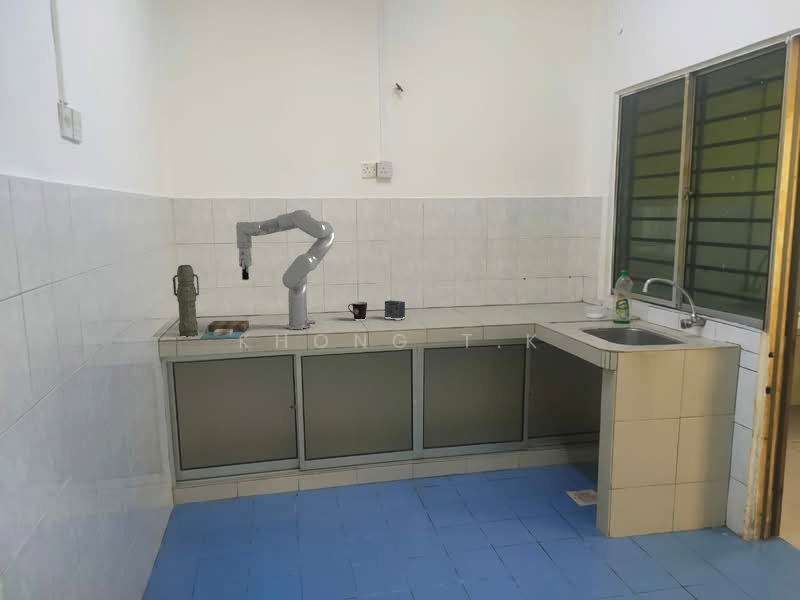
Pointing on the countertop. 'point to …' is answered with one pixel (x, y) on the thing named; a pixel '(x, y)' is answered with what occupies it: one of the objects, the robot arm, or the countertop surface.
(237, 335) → the mat
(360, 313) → the coffee mug
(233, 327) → the riser
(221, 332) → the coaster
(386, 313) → the small box
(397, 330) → the countertop surface
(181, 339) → the countertop surface
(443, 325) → the countertop surface
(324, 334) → the countertop surface
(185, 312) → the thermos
